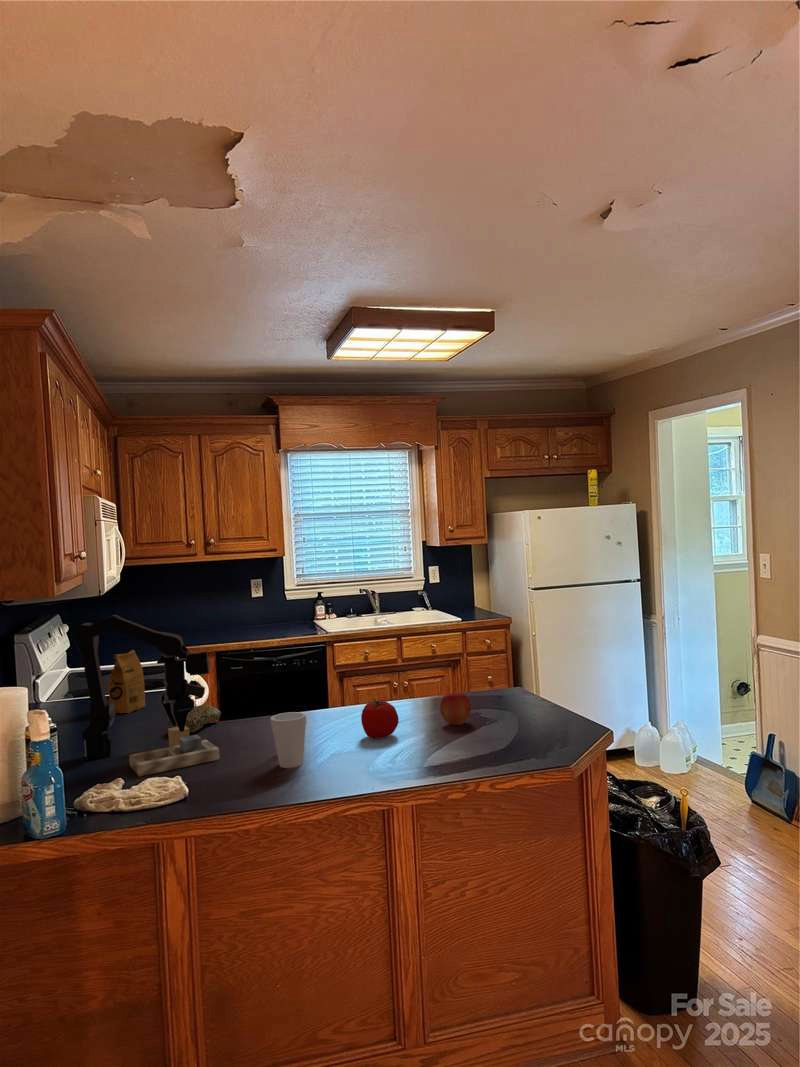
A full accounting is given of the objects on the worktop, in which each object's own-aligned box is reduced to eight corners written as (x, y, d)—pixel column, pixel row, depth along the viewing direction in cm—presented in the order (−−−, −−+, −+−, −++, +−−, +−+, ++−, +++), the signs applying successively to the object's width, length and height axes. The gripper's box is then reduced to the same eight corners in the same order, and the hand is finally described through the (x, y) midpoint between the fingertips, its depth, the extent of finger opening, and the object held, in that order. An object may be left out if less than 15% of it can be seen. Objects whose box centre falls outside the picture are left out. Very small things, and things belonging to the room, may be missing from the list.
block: (173, 751, 225) (172, 731, 225) (169, 748, 230) (168, 728, 230) (190, 748, 228) (189, 728, 228) (185, 745, 232) (184, 725, 232)
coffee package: (105, 714, 282) (101, 655, 282) (129, 706, 294) (125, 649, 294) (126, 715, 279) (122, 655, 278) (149, 706, 290) (145, 649, 290)
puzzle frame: (139, 776, 203) (137, 754, 203) (129, 765, 214) (128, 744, 214) (219, 759, 214) (218, 738, 214) (206, 749, 225) (205, 729, 225)
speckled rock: (199, 724, 263) (155, 726, 246) (204, 701, 264) (161, 702, 247) (227, 734, 257) (184, 737, 239) (232, 711, 257) (190, 712, 240)
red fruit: (375, 730, 234) (372, 694, 234) (407, 733, 228) (404, 696, 228) (353, 741, 224) (350, 703, 224) (386, 744, 218) (383, 706, 218)
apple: (477, 725, 233) (475, 692, 233) (449, 730, 229) (447, 697, 229) (463, 718, 242) (461, 687, 242) (436, 723, 238) (434, 691, 238)
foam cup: (310, 757, 210) (307, 711, 210) (307, 768, 201) (304, 719, 201) (276, 760, 210) (272, 713, 210) (271, 770, 201) (268, 722, 200)
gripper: (210, 677, 225) (213, 729, 225) (193, 669, 241) (196, 718, 241) (172, 682, 219) (175, 736, 219) (157, 674, 235) (160, 724, 235)
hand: (178, 728), depth 229 cm, fingers open, 9 cm apart
